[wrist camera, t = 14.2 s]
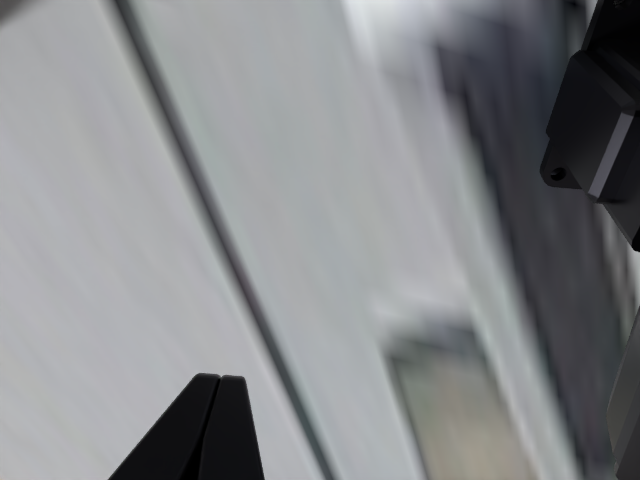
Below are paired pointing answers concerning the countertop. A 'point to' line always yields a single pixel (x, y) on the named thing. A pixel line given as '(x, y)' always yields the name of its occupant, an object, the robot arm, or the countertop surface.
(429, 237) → the countertop surface
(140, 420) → the countertop surface
